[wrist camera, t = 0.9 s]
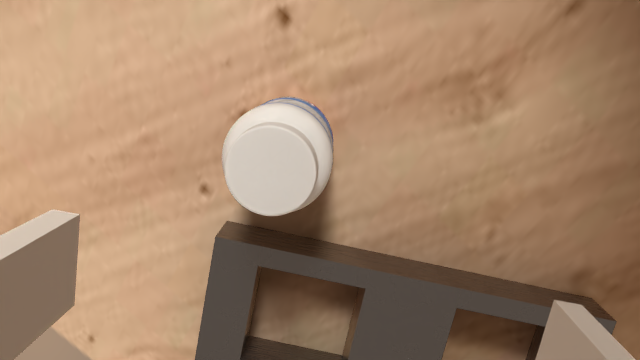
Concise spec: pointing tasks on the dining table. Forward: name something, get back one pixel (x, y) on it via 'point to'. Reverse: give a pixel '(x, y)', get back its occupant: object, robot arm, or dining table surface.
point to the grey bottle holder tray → (360, 299)
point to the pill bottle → (278, 156)
